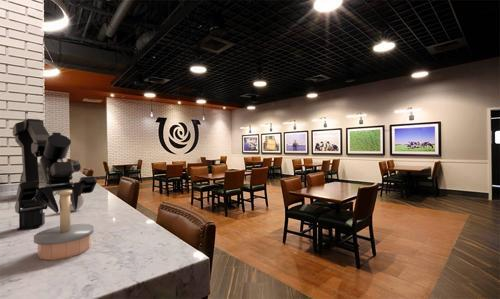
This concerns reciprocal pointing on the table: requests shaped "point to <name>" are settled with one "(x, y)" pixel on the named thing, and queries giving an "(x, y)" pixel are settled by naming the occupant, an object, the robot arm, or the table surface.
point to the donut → (80, 202)
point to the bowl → (64, 249)
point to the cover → (64, 226)
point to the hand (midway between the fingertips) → (66, 210)
